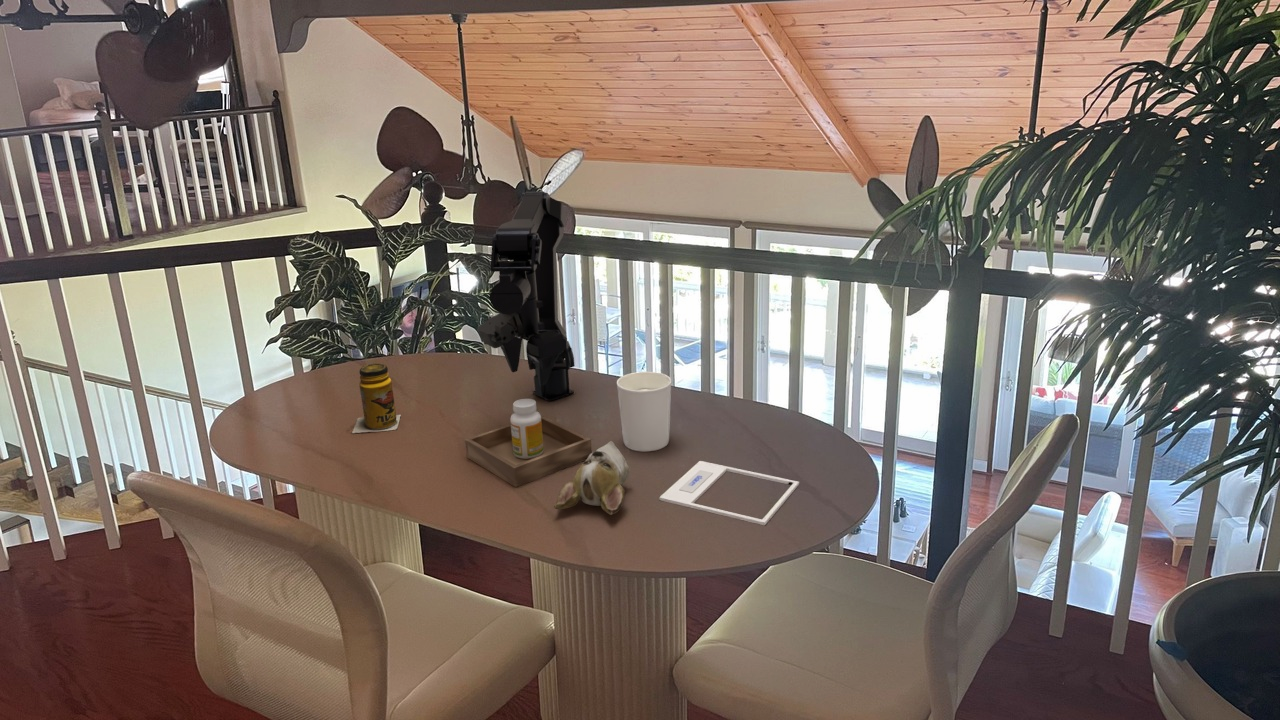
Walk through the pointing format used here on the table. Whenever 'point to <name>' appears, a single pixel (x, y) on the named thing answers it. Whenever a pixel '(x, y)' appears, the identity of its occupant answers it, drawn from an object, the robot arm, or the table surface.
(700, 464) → the photo frame
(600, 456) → the ceramic sculpture
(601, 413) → the table surface
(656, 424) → the candle holder
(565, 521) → the table surface
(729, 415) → the table surface
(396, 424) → the condiment
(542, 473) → the box
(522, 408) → the supplement bottle
